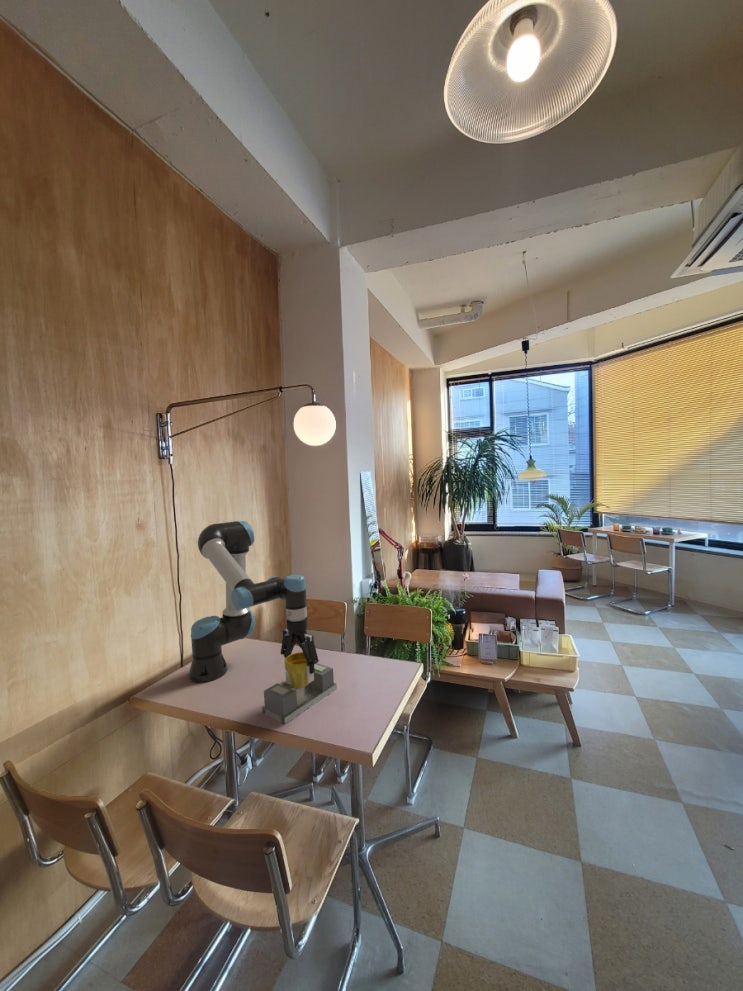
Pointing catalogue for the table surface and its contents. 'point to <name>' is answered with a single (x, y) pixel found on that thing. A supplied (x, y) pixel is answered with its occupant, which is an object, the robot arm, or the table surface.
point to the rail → (301, 702)
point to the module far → (322, 677)
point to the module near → (280, 699)
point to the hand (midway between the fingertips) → (300, 677)
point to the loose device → (287, 679)
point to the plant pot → (297, 669)
